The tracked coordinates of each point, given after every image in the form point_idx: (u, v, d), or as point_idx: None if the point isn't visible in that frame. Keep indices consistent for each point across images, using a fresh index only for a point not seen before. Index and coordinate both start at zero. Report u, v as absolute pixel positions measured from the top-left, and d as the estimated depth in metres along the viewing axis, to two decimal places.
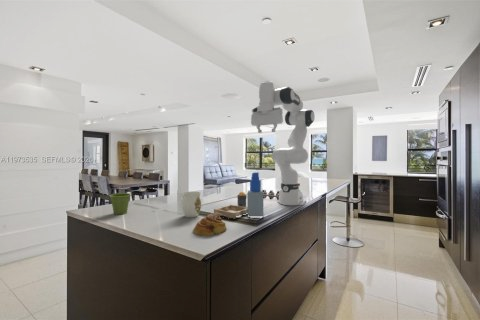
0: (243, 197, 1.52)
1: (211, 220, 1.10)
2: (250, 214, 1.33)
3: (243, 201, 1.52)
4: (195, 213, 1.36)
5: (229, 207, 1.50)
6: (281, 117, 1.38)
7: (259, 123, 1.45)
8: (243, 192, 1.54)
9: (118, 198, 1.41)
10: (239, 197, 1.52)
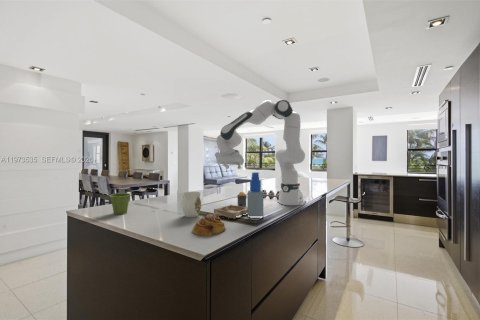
0: (243, 197, 1.52)
1: (210, 220, 1.10)
2: (250, 214, 1.33)
3: (243, 201, 1.52)
4: (195, 213, 1.36)
5: (229, 207, 1.50)
6: (217, 159, 1.62)
7: None
8: (243, 192, 1.54)
9: (118, 198, 1.41)
10: (239, 197, 1.52)
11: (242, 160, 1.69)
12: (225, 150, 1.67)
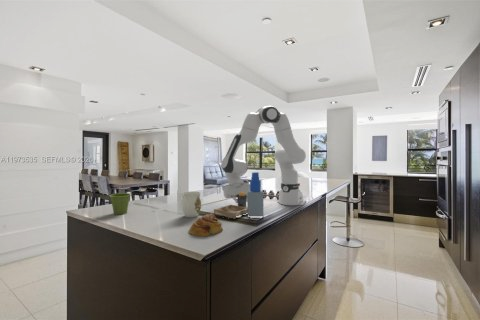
0: (243, 197, 1.52)
1: (207, 220, 1.10)
2: (250, 214, 1.33)
3: (243, 201, 1.52)
4: (195, 213, 1.36)
5: (229, 207, 1.50)
6: (224, 192, 1.55)
7: None
8: (243, 192, 1.54)
9: (118, 198, 1.41)
10: (239, 197, 1.52)
11: None
12: (233, 182, 1.59)
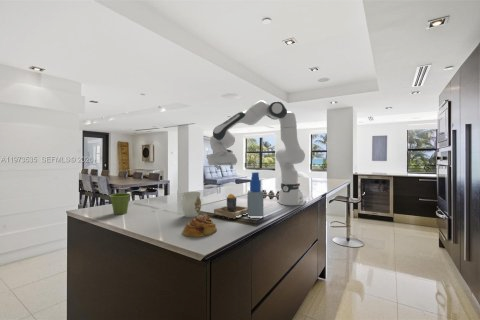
0: (233, 200, 1.38)
1: (201, 221, 1.09)
2: (250, 214, 1.33)
3: (233, 204, 1.39)
4: (195, 213, 1.36)
5: None
6: (208, 160, 1.61)
7: None
8: None
9: (118, 198, 1.41)
10: (228, 200, 1.39)
11: (235, 160, 1.66)
12: (217, 151, 1.65)
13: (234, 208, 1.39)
